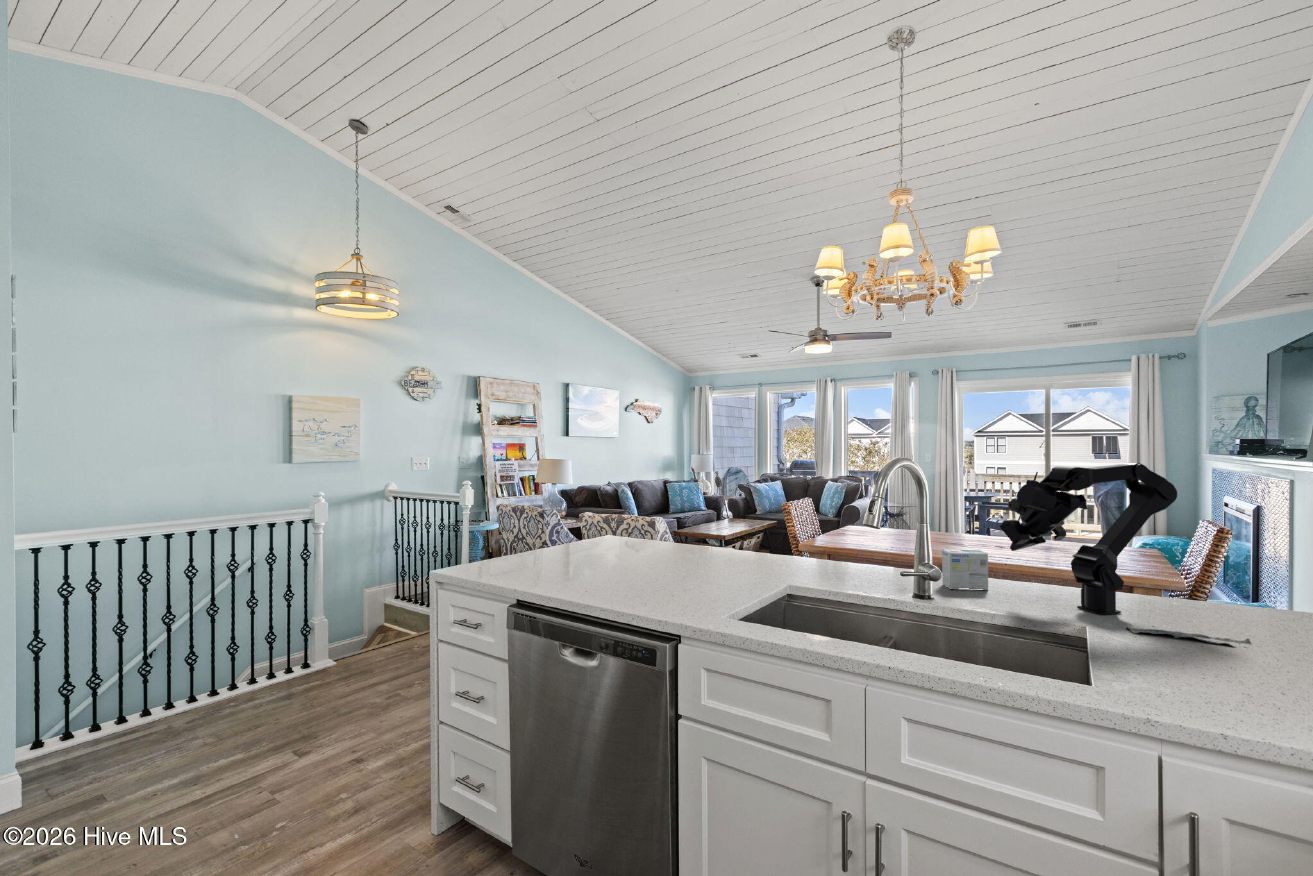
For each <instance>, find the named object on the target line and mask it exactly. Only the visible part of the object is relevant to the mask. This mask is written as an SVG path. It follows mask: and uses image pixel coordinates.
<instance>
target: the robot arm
mask: <svg viewBox="0 0 1313 876" xmlns="http://www.w3.org/2000/svg"><path fill="white" fill-rule="evenodd" d="M1117 481H1118V482H1120V481H1124V486H1125V487H1126V489H1128V490H1129V491H1130V492H1129V494H1128V498H1129V499H1128V500H1129V504H1128V505H1127V506H1126V508H1125V509H1124V510H1123V511H1122V513H1121V514H1120V515H1119V516H1118V517H1117V519H1116V520H1115V521H1114V522H1113V523H1112V525H1111V526H1110V527H1109V528H1108V530H1106V532H1104V534H1103V535H1102V537H1101V538H1100V539H1099V540H1098V541H1097V543H1096V544H1095V545H1093V546H1091V545H1086V544H1082V545H1081V546H1080V547H1079V549H1078V550H1077V551H1076V553H1075V554H1072V557H1073V559H1072V560H1071V562H1070V566H1071V572H1072V573H1073V575H1074V579H1075V582H1076V583H1077V584H1081V589H1080V604H1081V605H1077V606H1076V608H1077V609H1080V610H1083V611H1086V612H1090V613H1094V614H1097V615H1113V614H1114V615H1115V614H1121V613H1122V611H1121V610H1118V609H1117V604H1116V603H1117V600H1116V599H1117V597H1116V595H1117V594H1116V593H1117V591H1118V590H1119V591H1121V590H1122V589H1123V587H1124V584H1125V581H1124V580H1123V579H1122V578H1121V576H1119V574H1118V573H1117V572H1116V571H1117V569H1118V556H1120V554H1121V553H1122V552H1123V550H1124V549H1125V548H1126V547H1127V546H1128V544H1129V543H1130V542H1131V541H1132V539H1133V538H1134V537H1135V536H1136V535H1137V534H1138V532H1140V530H1141V528H1143V526H1144V525H1145V524H1146V522H1147V521H1148V520H1149V519H1150V517H1151V516H1153V515H1155V514H1158V513H1160V512H1162V511H1165V510H1166V509H1167V508H1168V507H1170V506H1171V505H1172V504H1173V503H1175V501H1176V500H1177V498H1178V491H1177V488H1176V487H1175V485H1174V484H1173V483H1172V482H1170V481H1169V480H1167V479H1166V478H1165V477H1164V476H1162V475H1160V474H1158V473H1156V472H1154V471H1153V470H1151V469H1149V467H1147V466H1146V465H1144V464H1142V463H1140V462H1123V463H1121V464H1120V463H1119V464H1112V465H1102V466H1094V467H1079V466H1058V465H1057V466H1053V467H1052V468H1051V471H1050V472H1049V473H1048V475H1046V476H1045V477H1044V478H1043V479H1042V480H1041V481H1040V482H1039V481H1038V480H1034V479H1026V483H1025V484H1023V485H1022V486H1021V487H1020V488H1019V490H1018V491H1017V493H1016V497H1014V498H1011V500H1010V501H1008V502H1007V508H1008V509H1009V511H1011V512H1015V513H1016V514H1017V515H1020V516H1021V517H1020V520H1021V521H1022V522H1023V524H1021V522H1020V521H1019V520H1017V519H1005V520H1003V521H1001V523H1000V524H999V528H1000V529H1001V530H1002V531H1003V533H1004V534H1005V536H1006V537H1007V538H1008V539H1009V540H1010V542H1011V544H1010V546H1009V549H1010V551H1012V552H1015V551H1019V550H1023V549H1025V548H1029V547H1033V546H1037V545H1041V544H1045V543H1046V542H1047V540H1046V539H1045V538H1044V537H1051V536H1052V535H1054V534H1055V535H1054V536H1053V537H1052V539H1053V540H1054V541H1055V542H1056V541H1062V540H1063V539H1064V538H1066V537H1067V530H1066V529H1065V528H1064V527H1063V526H1064V525H1065V524H1066V523H1065V522H1064V521H1065V520H1066V519H1067V518H1069V517H1070V516H1071V515H1072V514H1073V513H1074V512H1075V511H1076V510H1078V509H1082V510H1085V511H1086V510H1088V506H1087V505H1088V504H1087V501H1088V500H1087V499H1086V497H1085V495H1084V494H1074V493H1070V492H1071V491H1081V490H1085V489H1088V488H1090V487H1092V486H1093V485H1096V484H1102V483H1110V482H1117Z"/></svg>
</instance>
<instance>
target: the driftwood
mask: <svg viewBox="0 0 1313 876" xmlns="http://www.w3.org/2000/svg"><path fill="white" fill-rule="evenodd" d="M1151 627H1152V628H1155V626H1153V625H1152V626H1151ZM1126 629H1128V630H1130V632H1131V633H1133V634H1135V635H1137V634H1139V633H1147V634H1148V633H1149V634H1153V635H1156V634H1157V635H1158V634H1160V635H1164V634H1167V635H1171V636H1173V639H1177V638H1190V639H1193V640H1194V639H1195V640H1200V641H1202V642H1207V643H1213V644H1218V645H1225V646H1230V647H1231V646H1232V647H1233V648H1237V646H1236V645H1235V646H1234V645H1232V644H1230V643H1234V644H1235V643H1236V644H1238V645H1239V646H1240V645H1241V644H1245V645H1246V644H1247V645H1251V646H1252V641H1251V640H1250V639H1251V638H1246V639H1244V640H1235V639H1231V638H1221V637H1211V636H1208V635H1205V634H1201V633H1188V632H1187V633H1185V632H1181V631H1171V630H1170V631H1169V630H1164V629H1151V628H1146V629H1144V628H1132V627H1126ZM1205 639H1209V640H1205ZM1210 639H1214V640H1216V641H1220V642H1216V641H1215V642H1214V641H1212V640H1210ZM1243 648H1244V649H1245V648H1246V649H1248V647H1246V646H1243Z"/></svg>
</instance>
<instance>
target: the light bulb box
mask: <svg viewBox="0 0 1313 876" xmlns="http://www.w3.org/2000/svg"><path fill="white" fill-rule="evenodd" d="M941 567H942V569H941V571H942V572H941V573H942V574H941V575H942V577H941V578H942V586H943V585H945V586H947V587H948V588H951V589H959V588H969V589H983V590H988V591H989V553H987V552H985V551H982V550H980V549H945V548H944V549H943V548H942V549H941ZM945 586H944V587H945ZM948 588H947V589H948Z"/></svg>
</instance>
